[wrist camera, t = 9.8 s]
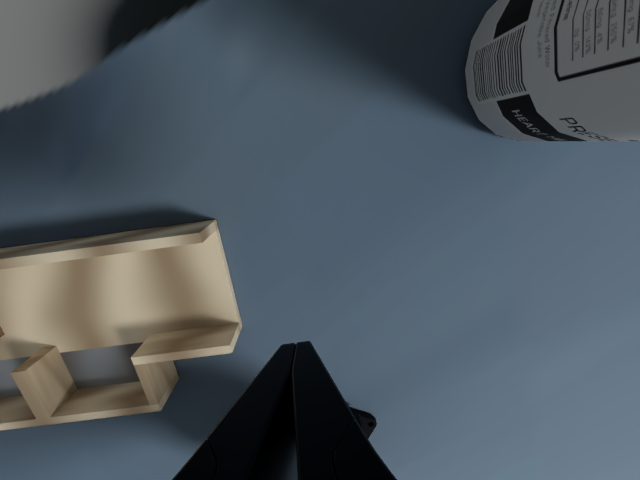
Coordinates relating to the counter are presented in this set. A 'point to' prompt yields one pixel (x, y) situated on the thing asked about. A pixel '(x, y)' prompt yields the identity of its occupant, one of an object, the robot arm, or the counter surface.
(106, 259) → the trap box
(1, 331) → the walnut block
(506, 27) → the supplement can
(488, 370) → the counter surface
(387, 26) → the counter surface
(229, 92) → the counter surface
